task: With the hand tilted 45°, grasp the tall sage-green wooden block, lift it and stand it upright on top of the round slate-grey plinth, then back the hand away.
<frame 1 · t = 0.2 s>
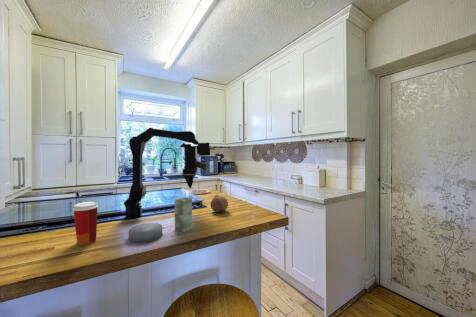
hand: (190, 186, 108), 15 cm above the counter, tool pointing down, fingers open, 9 cm apart
sage block: (183, 228, 89), on the counter
paper cup: (86, 242, 76), on the counter
onion: (219, 212, 112), on the counter
slate plinth: (146, 235, 82), on the counter
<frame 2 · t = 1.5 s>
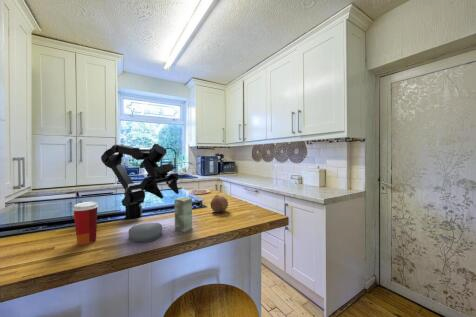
hand: (170, 195, 92), 13 cm above the counter, tool tilted 45°, fingers open, 9 cm apart
nothing on the counter moved.
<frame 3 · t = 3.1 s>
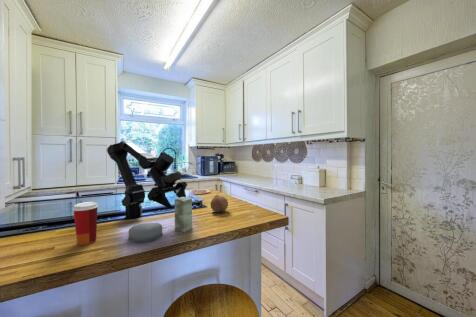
hand: (179, 205, 89), 10 cm above the counter, tool tilted 45°, fingers open, 9 cm apart
nothing on the counter moved.
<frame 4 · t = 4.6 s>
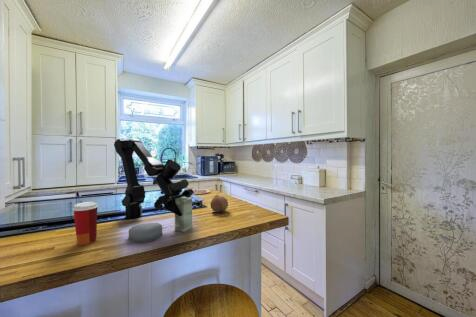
hand: (186, 214, 88), 7 cm above the counter, tool tilted 45°, fingers closed on sage block, 5 cm apart
sage block: (183, 228, 89), on the counter, touching gripper
everything else where it was.
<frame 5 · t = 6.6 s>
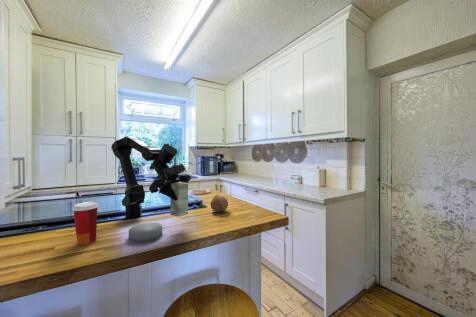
hand: (181, 198, 86), 13 cm above the counter, tool tilted 45°, fingers closed on sage block, 5 cm apart
sage block: (179, 214, 87), point 7 cm above the counter, touching gripper
everything else where it was.
when the fingers open (11 cm above the counter, at t = 8.7 s): sage block drops 1 cm, resting on slate plinth.
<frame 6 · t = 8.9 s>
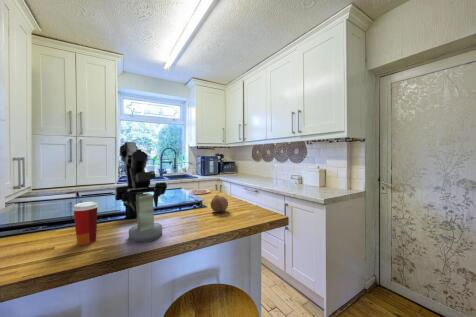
hand: (146, 208, 80), 11 cm above the counter, tool tilted 45°, fingers open, 7 cm apart
sage block: (145, 227, 82), point 3 cm above the counter, touching slate plinth
everything else where it was.
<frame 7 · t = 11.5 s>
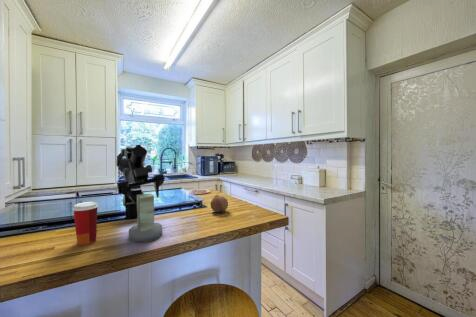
hand: (146, 200, 88), 12 cm above the counter, tool tilted 40°, fingers open, 9 cm apart
nothing on the counter moved.
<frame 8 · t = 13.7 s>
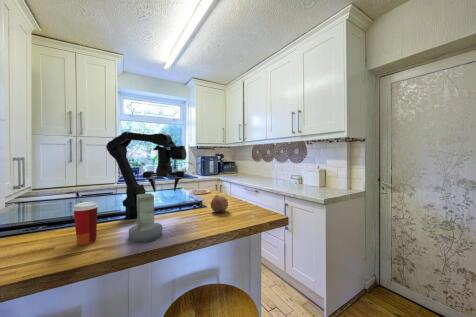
hand: (164, 191, 102), 13 cm above the counter, tool pointing down, fingers open, 9 cm apart
nothing on the counter moved.
at the end: sage block 0.1 cm off-centre on the slate plinth, point 3.0 cm above the slate plinth's base; sage block tilted 0°; the gripper is holding nothing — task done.
